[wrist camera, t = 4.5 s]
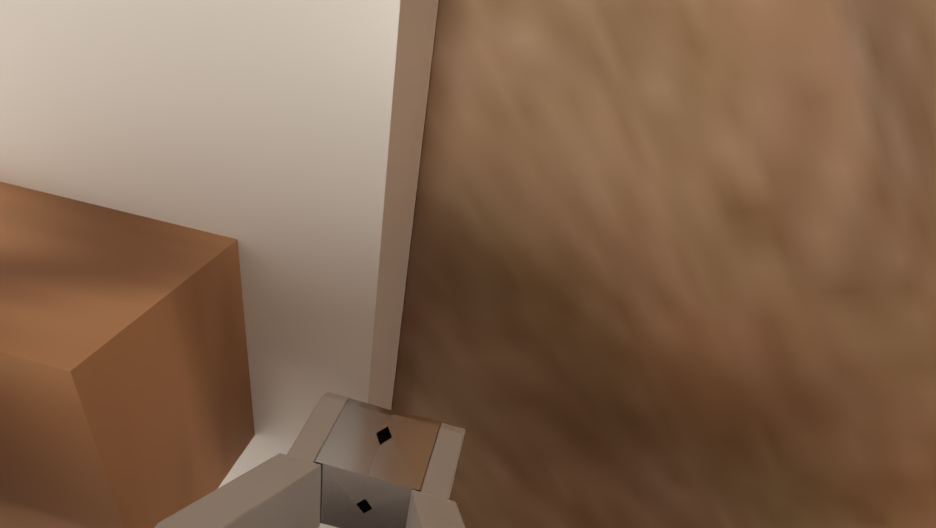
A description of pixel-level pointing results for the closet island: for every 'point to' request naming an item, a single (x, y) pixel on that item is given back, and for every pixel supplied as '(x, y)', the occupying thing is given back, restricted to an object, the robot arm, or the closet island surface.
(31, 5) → the trap deck
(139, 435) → the block
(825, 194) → the closet island surface
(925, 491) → the closet island surface
